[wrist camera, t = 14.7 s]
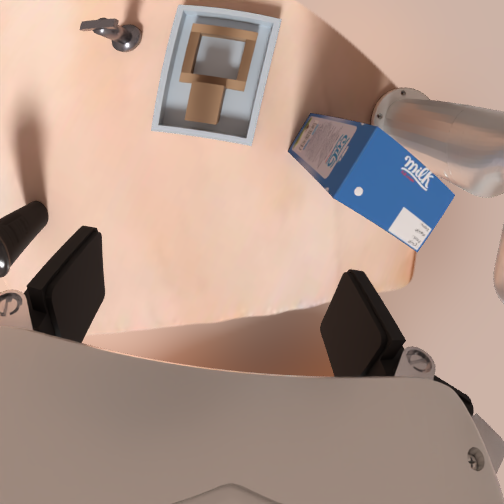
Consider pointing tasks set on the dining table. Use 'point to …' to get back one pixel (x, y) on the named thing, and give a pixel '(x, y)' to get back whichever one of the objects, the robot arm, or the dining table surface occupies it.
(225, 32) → the ring
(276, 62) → the dining table surface
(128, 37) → the gray bar-topped pedestal
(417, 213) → the milk carton
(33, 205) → the drinking cup
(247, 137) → the tray
